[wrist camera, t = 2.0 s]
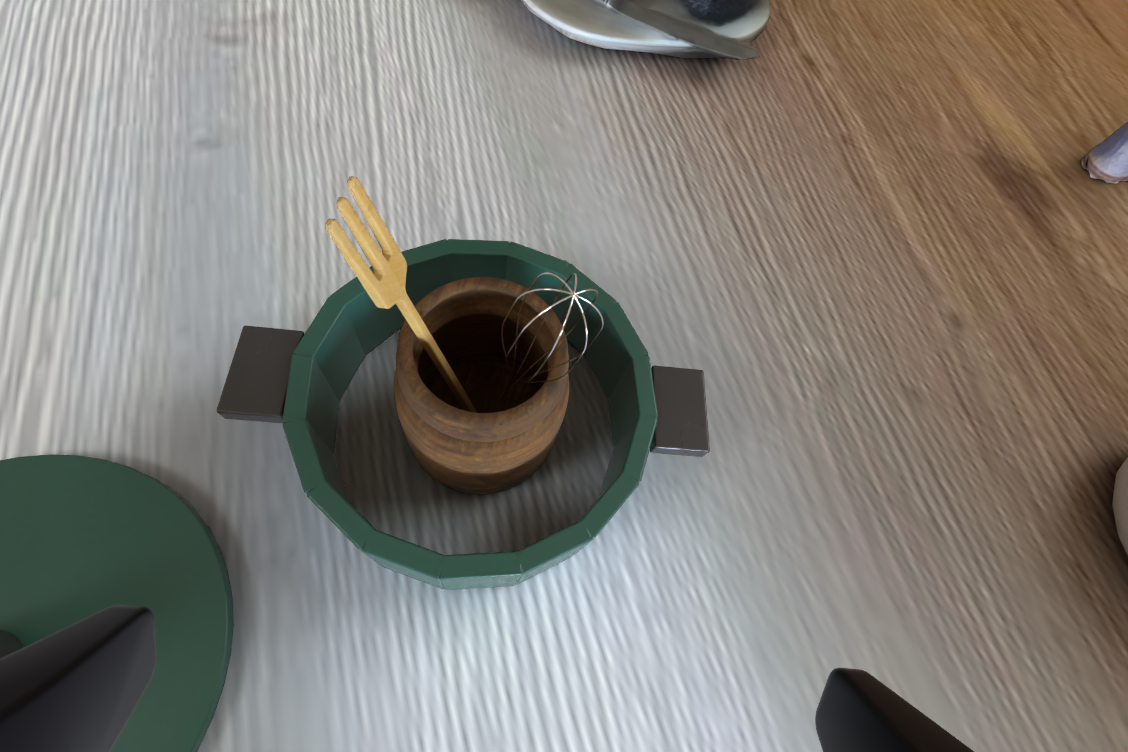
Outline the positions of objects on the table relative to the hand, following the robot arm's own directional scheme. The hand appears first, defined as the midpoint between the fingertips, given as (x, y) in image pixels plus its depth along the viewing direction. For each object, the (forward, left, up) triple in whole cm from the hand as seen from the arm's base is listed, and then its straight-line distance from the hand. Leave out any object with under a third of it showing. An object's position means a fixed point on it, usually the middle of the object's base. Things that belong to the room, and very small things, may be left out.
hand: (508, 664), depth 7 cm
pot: (+6, +6, -13) cm, 16 cm away
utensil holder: (+6, +6, -14) cm, 16 cm away
